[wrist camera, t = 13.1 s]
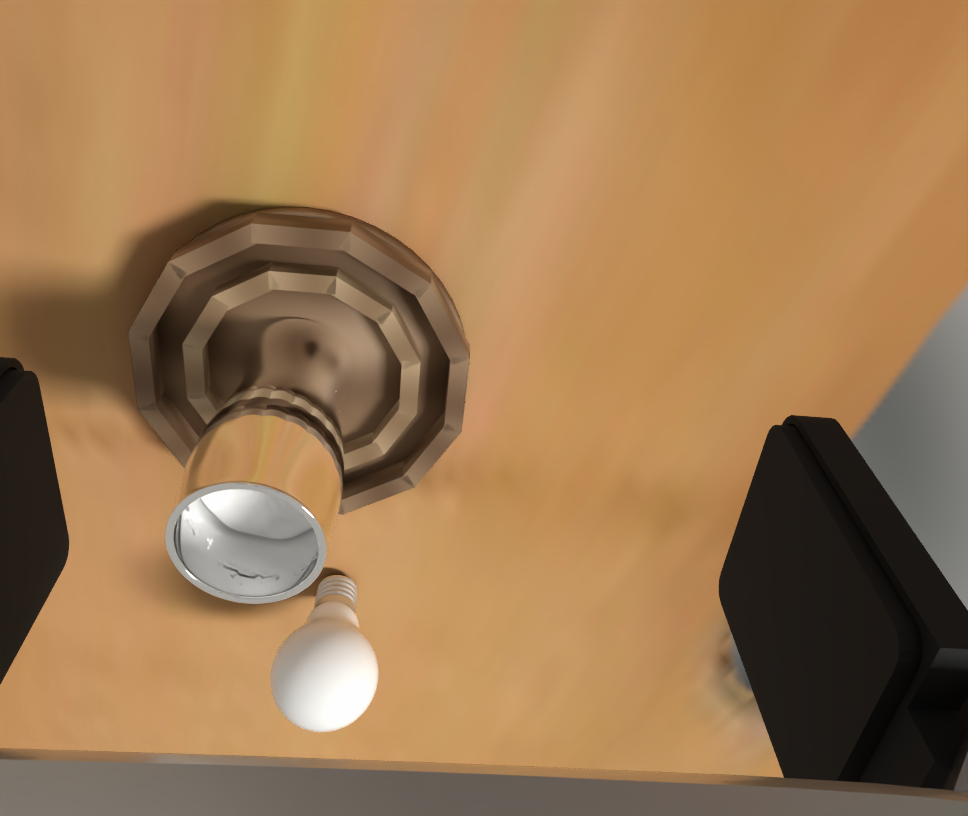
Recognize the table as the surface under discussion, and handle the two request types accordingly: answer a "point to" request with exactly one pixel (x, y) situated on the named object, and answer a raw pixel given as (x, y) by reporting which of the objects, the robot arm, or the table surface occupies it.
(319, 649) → the lightbulb
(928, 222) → the table surface
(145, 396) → the tray
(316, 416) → the beer glass
